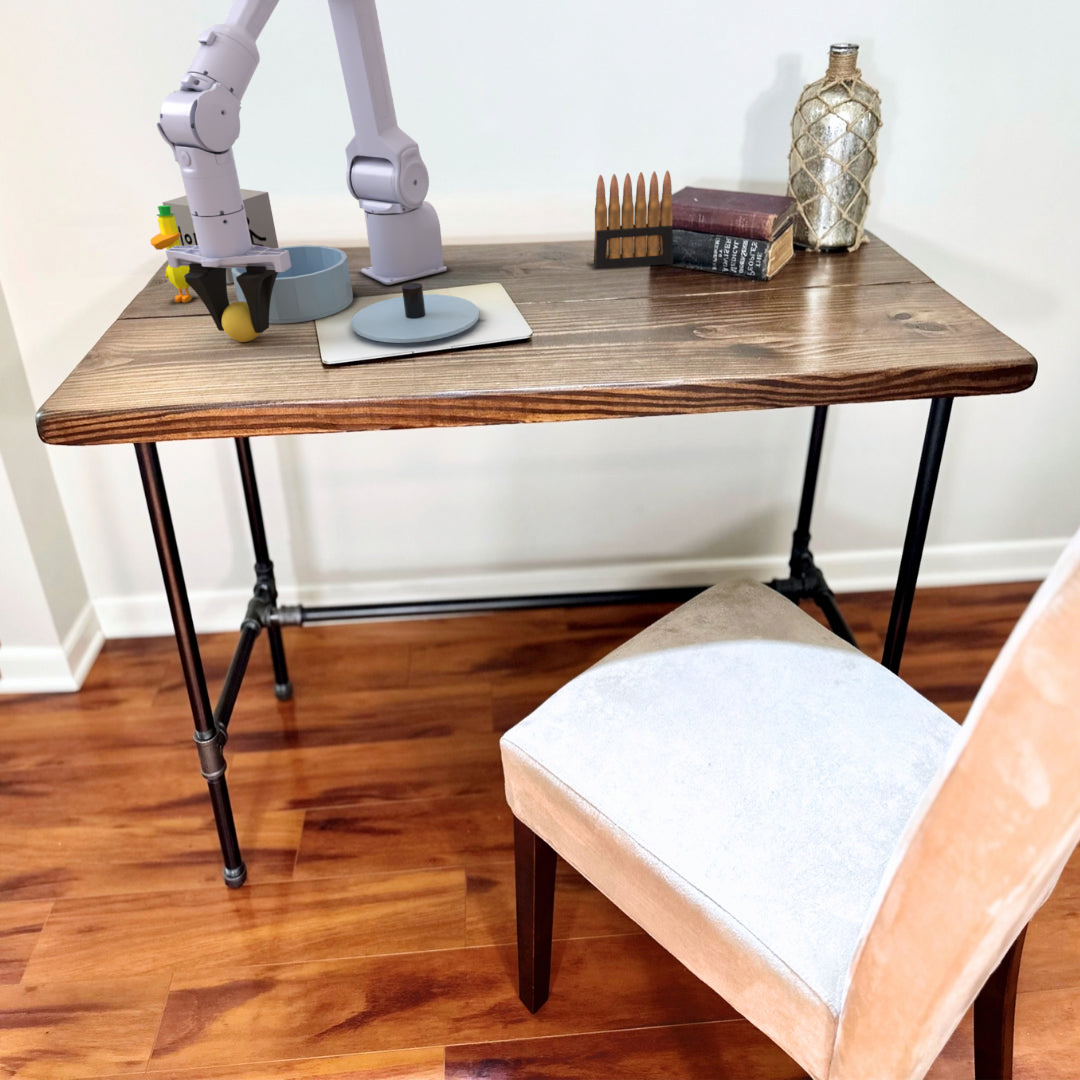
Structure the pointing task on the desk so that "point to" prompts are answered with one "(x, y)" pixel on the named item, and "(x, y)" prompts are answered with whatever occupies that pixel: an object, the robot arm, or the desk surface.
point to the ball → (238, 322)
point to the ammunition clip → (633, 224)
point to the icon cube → (255, 214)
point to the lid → (415, 317)
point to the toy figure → (169, 240)
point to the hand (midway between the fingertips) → (243, 328)
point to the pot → (308, 285)
